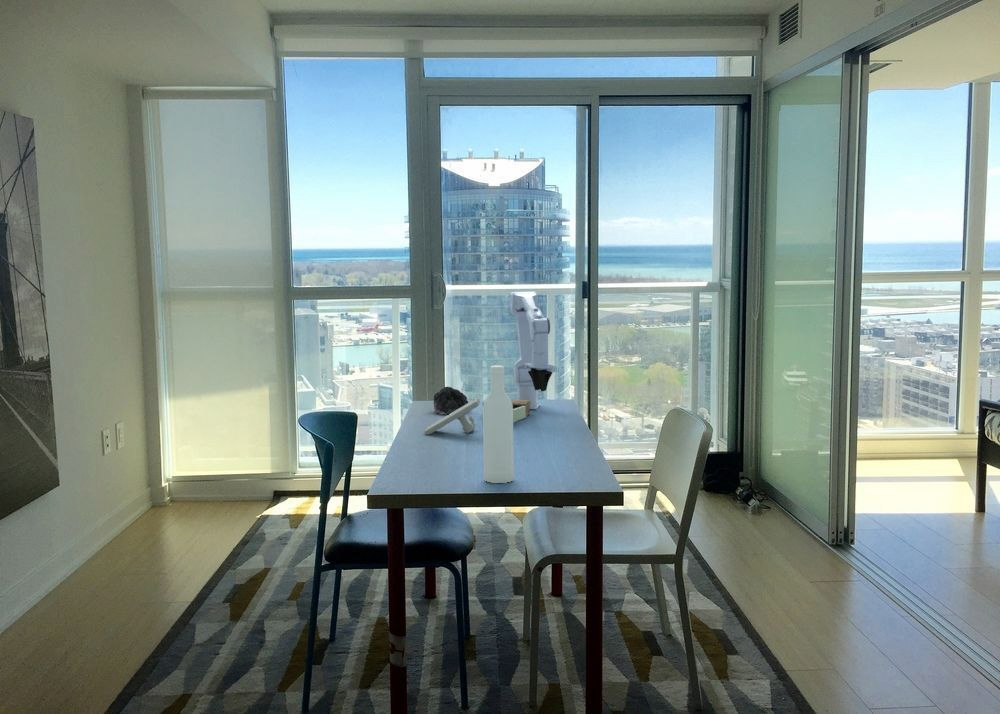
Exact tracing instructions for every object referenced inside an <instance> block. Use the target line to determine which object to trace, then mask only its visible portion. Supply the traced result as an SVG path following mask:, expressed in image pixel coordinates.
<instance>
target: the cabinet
mask: <svg viewBox="0 0 1000 714" xmlns="http://www.w3.org/2000/svg"><path fill="white" fill-rule="evenodd" d="M511 402H512V405H513V409H515V408H518V407H521V406H526V415H527V416H528V415H529V414H531V413H530V412H531V409H530V400H518V399H511ZM483 404H484V401H483V402H482V405H483ZM528 417H529V416H528Z"/></svg>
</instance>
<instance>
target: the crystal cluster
mask: <svg viewBox="0 0 1000 714" xmlns="http://www.w3.org/2000/svg"><path fill="white" fill-rule="evenodd" d="M467 403H469V401H468V397H467V396H466V395H465V394H464V393H463V392H461V391H460V390H459V389H456V388H453V387H451V386H444V387H442V388H441V389H440V390H439V391H437V392H436V393H435V394H434V395H433V409H434V411H433V413H435V414H438V413H439V414H438V415H441V414H445V415H444V416H447V414H450V413H452V412H454V411H455V410H457V409H459V408H461V407H462V406H464V405H466V404H467Z"/></svg>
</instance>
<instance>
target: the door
mask: <svg viewBox="0 0 1000 714" xmlns="http://www.w3.org/2000/svg"><path fill="white" fill-rule="evenodd" d="M526 417H527V415H526V406H521V407H518V408H515V409H513V423H515V422H517V421H519V420H523V419H527V418H528V417H527V418H526Z"/></svg>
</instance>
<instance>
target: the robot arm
mask: <svg viewBox="0 0 1000 714" xmlns="http://www.w3.org/2000/svg"><path fill="white" fill-rule="evenodd" d="M538 302H539V299H538V293H537V292H536V291H535V290H534V291H533V290H532V291H511V292H510V294H509V308H510V309H509V310H510V314H511V315H512V316H514V317H515V322H516V332H517V342H518V352H519V359H518V360H517V361H516V362H515V363H514V364H513V374H512V376H513V382H514V383H515V384H516V385H517V400H530V410H538V408H539V407H540V406H541V403H538V391H539V390H540V392H547V388H548V386H549V385H548V384H549V381H550V378H551V377H552V375H553V373H557V372H558V367H557V365H552V364H549V334H550V332H551V322H550V319H549V317H545V316H544V314H543V312H542V310H541V309H540V308H539V307H538Z"/></svg>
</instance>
